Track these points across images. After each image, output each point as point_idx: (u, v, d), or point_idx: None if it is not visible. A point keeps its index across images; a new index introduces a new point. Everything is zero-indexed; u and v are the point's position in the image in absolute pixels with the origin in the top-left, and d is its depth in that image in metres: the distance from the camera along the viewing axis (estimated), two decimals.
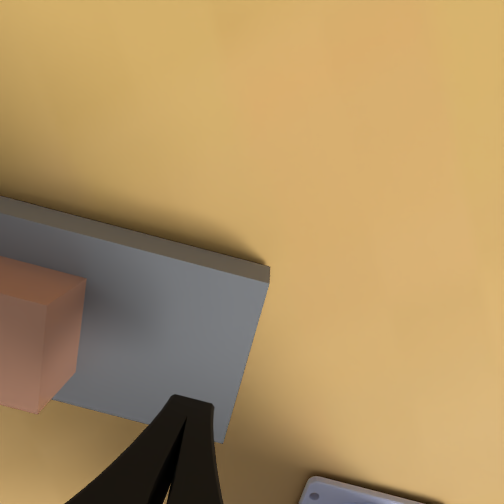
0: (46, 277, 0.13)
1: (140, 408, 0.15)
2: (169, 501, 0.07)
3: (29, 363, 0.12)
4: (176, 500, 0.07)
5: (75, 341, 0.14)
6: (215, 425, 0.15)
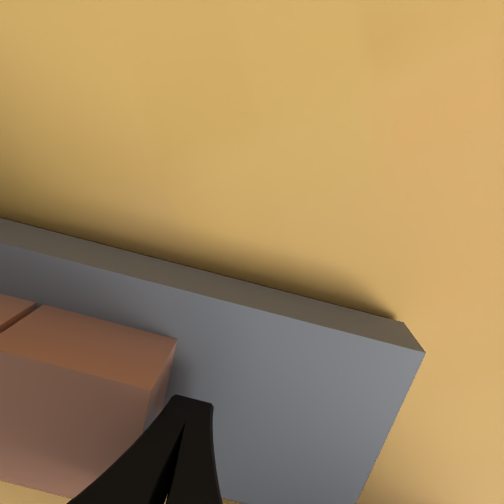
0: (134, 342, 0.11)
1: (249, 489, 0.13)
2: (168, 501, 0.07)
3: None
4: (175, 500, 0.07)
5: None
6: None
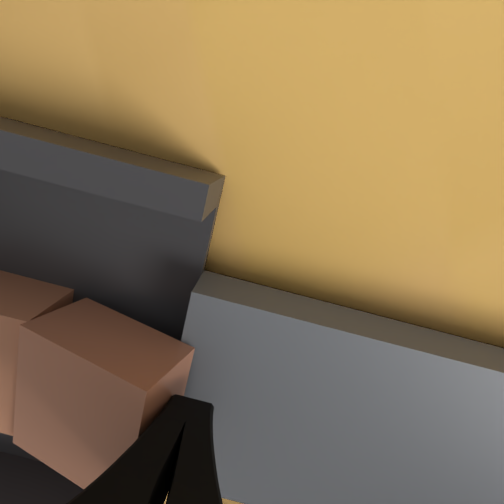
0: (151, 343, 0.11)
1: None
2: (168, 501, 0.07)
3: (120, 454, 0.10)
4: (175, 500, 0.07)
5: None
6: None
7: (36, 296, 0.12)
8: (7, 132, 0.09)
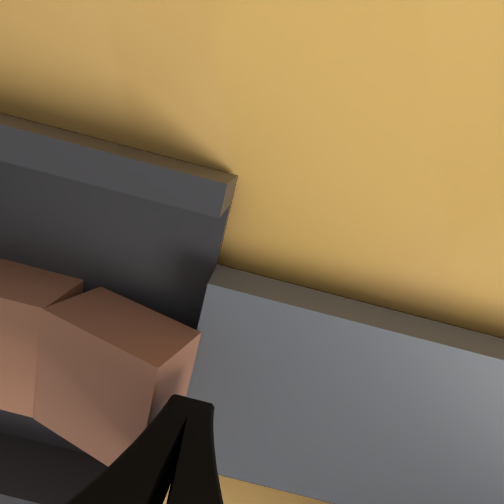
0: (161, 327, 0.12)
1: None
2: (169, 501, 0.07)
3: (133, 426, 0.11)
4: (176, 500, 0.07)
5: None
6: None
7: (50, 285, 0.13)
8: (42, 135, 0.10)
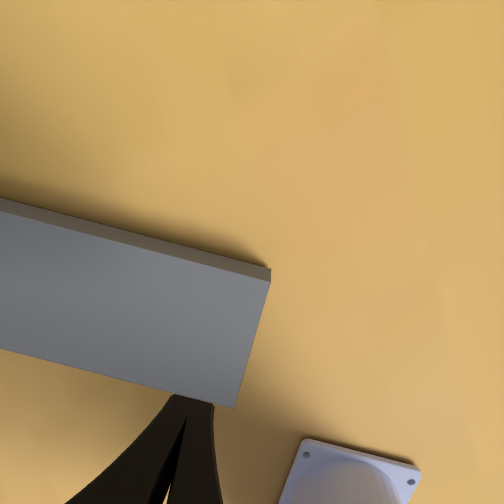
0: None
1: (168, 380, 0.19)
2: (169, 501, 0.07)
3: None
4: (176, 500, 0.07)
5: None
6: (227, 393, 0.20)
7: None
8: None
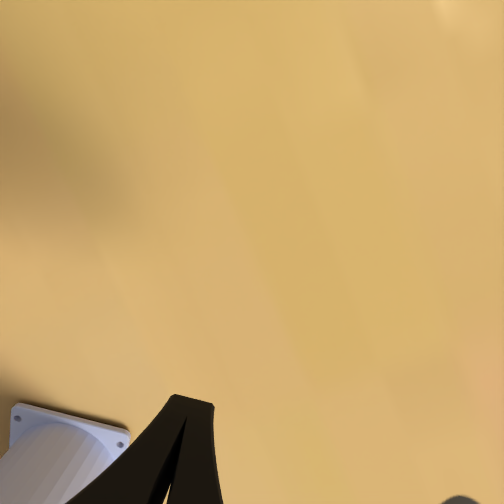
0: None
1: None
2: (169, 501, 0.07)
3: None
4: (176, 500, 0.07)
5: None
6: None
7: None
8: None
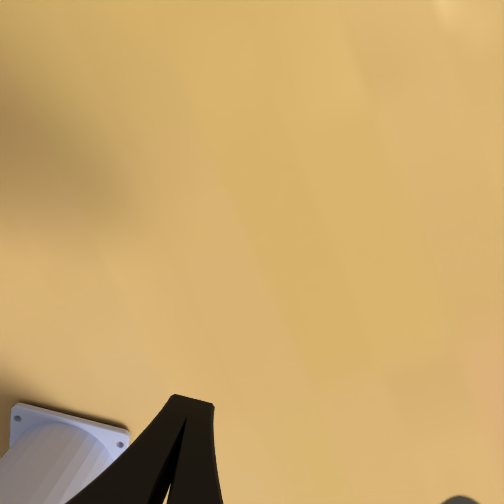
0: None
1: None
2: (169, 501, 0.07)
3: None
4: (176, 500, 0.07)
5: None
6: None
7: None
8: None
